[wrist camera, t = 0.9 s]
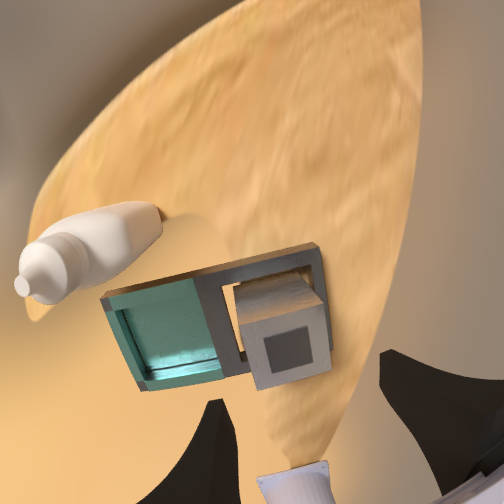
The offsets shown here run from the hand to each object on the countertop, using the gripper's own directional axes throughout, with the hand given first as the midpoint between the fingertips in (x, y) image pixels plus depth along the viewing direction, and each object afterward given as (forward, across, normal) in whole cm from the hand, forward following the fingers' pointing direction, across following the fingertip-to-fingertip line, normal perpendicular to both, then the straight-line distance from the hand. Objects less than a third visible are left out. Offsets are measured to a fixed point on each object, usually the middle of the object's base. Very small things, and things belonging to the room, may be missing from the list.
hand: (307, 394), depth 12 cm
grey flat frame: (+10, +4, 0) cm, 10 cm away
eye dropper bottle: (+10, +8, -8) cm, 15 cm away
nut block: (+10, 0, 0) cm, 10 cm away
